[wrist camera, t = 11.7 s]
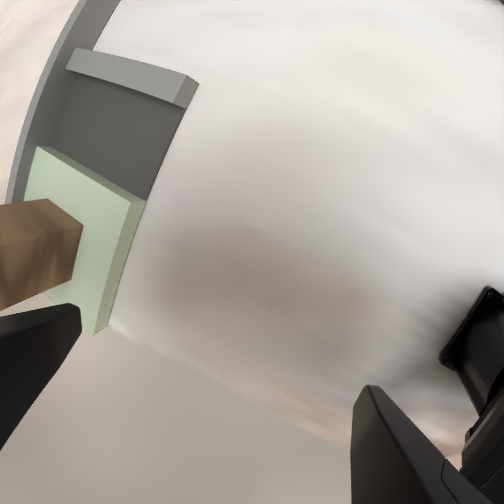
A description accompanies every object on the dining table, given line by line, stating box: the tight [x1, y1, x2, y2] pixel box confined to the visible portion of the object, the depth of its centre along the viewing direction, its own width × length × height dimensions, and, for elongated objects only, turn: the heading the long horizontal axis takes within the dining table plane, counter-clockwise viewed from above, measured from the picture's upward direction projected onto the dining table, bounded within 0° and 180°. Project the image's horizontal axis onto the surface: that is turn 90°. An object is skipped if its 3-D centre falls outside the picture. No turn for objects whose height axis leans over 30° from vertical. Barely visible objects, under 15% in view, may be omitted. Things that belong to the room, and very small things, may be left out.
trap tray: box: [5, 0, 199, 335], centre depth 19 cm, size 32×13×4 cm, turn 153°
